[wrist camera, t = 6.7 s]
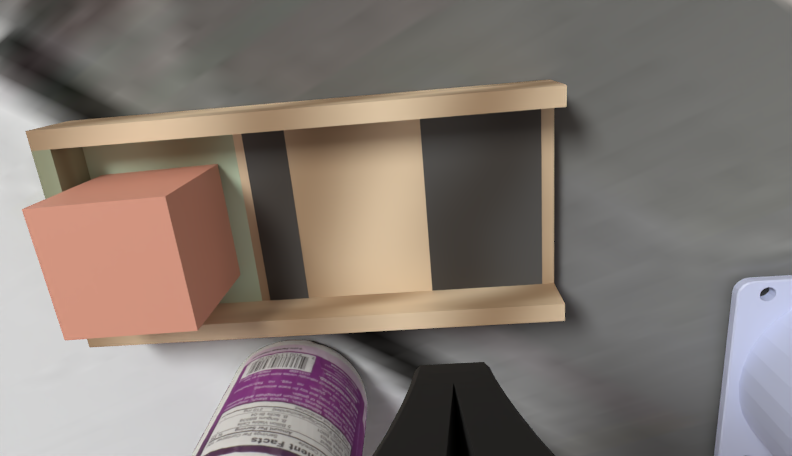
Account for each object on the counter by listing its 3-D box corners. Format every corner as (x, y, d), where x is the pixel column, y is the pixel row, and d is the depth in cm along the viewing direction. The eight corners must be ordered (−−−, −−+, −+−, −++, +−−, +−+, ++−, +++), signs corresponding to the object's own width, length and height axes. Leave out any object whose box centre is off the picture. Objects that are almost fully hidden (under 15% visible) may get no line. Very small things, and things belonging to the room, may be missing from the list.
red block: (217, 163, 19) (165, 196, 15) (240, 274, 20) (197, 330, 16) (102, 175, 19) (21, 209, 15) (132, 283, 20) (64, 340, 16)
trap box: (550, 79, 18) (566, 85, 16) (550, 291, 20) (564, 320, 18) (69, 121, 19) (25, 131, 17) (122, 317, 21) (89, 347, 19)
